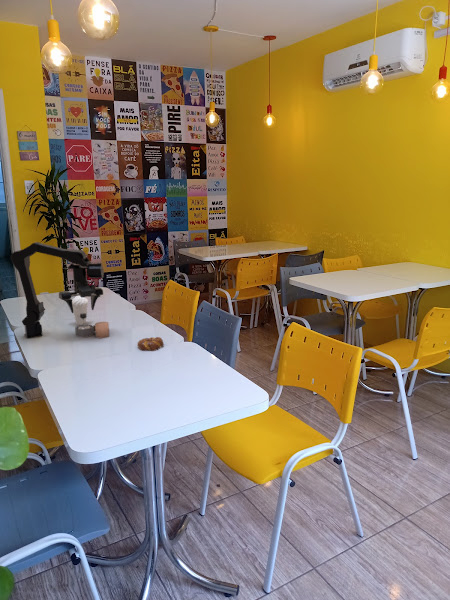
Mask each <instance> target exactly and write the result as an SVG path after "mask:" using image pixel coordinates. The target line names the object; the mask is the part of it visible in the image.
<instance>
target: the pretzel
mask: <svg viewBox="0 0 450 600" xmlns="http://www.w3.org/2000/svg"><path fill="white" fill-rule="evenodd" d="M160 346H162V347H163V346H164V341H163V339H162V337H160V336H155V337H145V338H142V339H139V341H138V342H137V348H139V350H141V351H156V350H155V349H157V350H159V349H160V348H159V347H160ZM158 348H159V349H158Z"/></svg>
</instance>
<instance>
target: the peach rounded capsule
mask: <svg viewBox="0 0 450 600" xmlns="http://www.w3.org/2000/svg"><path fill="white" fill-rule="evenodd" d="M109 324H110V323H109V322H108V321H99V322H95V323H94V325H95V331H96V332H95V337H96V338H97V339H105V338H109V336H110V325H109Z"/></svg>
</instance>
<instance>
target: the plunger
mask: <svg viewBox="0 0 450 600" xmlns="http://www.w3.org/2000/svg"><path fill="white" fill-rule="evenodd" d="M87 316H88V315H87ZM87 316H86V313H82V314H80V318H83V326H79V325H78V326H79V327H78V329H88V328H91V327H90V326H88V325H89V324H85V318H86V319H87Z"/></svg>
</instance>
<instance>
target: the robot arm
mask: <svg viewBox="0 0 450 600" xmlns="http://www.w3.org/2000/svg"><path fill="white" fill-rule="evenodd" d="M36 253H40V254H45V255H48V256H53V257H56V258H59V259H60V258H61V259H64V260H66V261H67V262H70V265H69V266H68V267H67V269H68V270H72V278H73V280H72V282H73V287H74V288H73V292H71V291H69V290H63V291H62V290H61V291H59V292H58V299H60V300H62V301H64V302H66V304H67V305H68V308H69V310H70V312H71V313H72V314H74V312H73V306H72V300H73V298H72V297H76V296H80V297H82V298H83V297H84V298H87V297H89V298H90V307H91V311H94V309H95V306H96V302H97V300H98V299H99V298H101V296H102V295H104V290H103V288H101V287H99V286H96V285H95V284H91V285H89V283H88V282H89V281H88V280H87V279H88V278H87V277H89V279H103V278H104V274H105V273H104V272H105V270H104V267H103V264H102V263H103V262H95V263H94V262H92V261H91V260H89V258H88V257H87V255H86V252H85V251H84V250H83V249H74V248H73V249H67V248H61V247H57V246H54V245H49V244H46V243H41V242H39V241H35V242H33V243H30V245H29V246H27V247H25V248H23V249H19V250H16V251H14V252H12V253H11V255H10V260H11V263H12V265H13V267H14V268H15V269H16V270H17V272H18V275H19V278H20V282H21V285H22V289H23V294H24V296H25V300H26V306H25V307H26V308H25V311H26V312H25V313H26V316H25V317H24V318H23V319H22V320H21V322H22V325H23V327H24V336H25V338H27V339H30V338H36V337H37V338H38V337H42V336H43V325H42V324H41V322H40V321H41V318H42V317H43V316H44V315H45V311H46V308H45V306H44V302H43V301H41V302H40V301H39V299H38V297H37V293H36V290H35V285H34V283H33V282H34V281H33V277H32V274H31V271H30V264H31V259H30V257H32V256H33V255H34V254H36ZM78 293H79V294H78Z"/></svg>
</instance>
